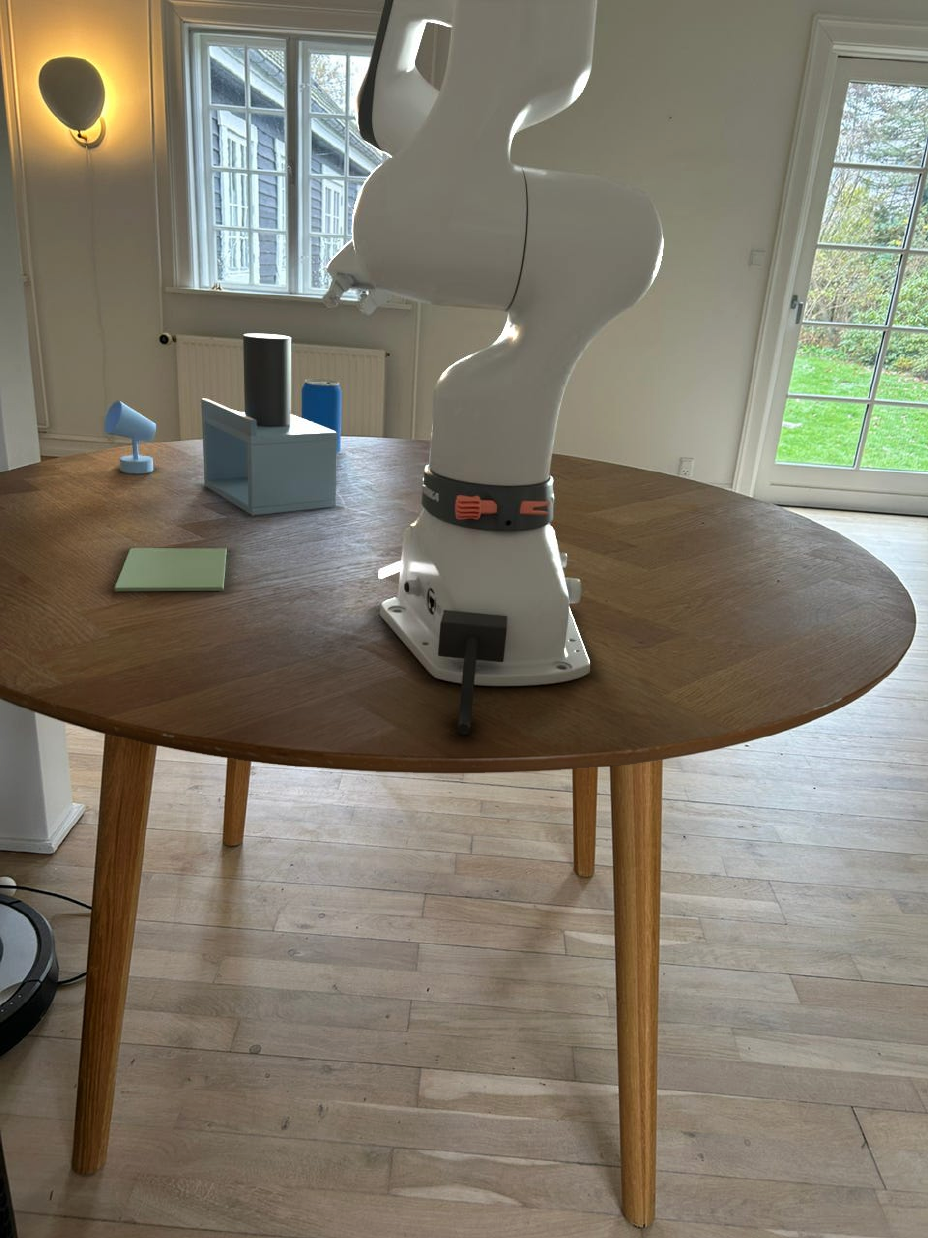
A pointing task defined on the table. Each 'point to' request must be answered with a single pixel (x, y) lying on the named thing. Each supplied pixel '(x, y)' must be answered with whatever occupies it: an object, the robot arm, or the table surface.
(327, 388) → the beverage can
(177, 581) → the mat
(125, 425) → the spotlight
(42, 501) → the table surface
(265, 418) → the dark grey cylinder
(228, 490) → the shelf
